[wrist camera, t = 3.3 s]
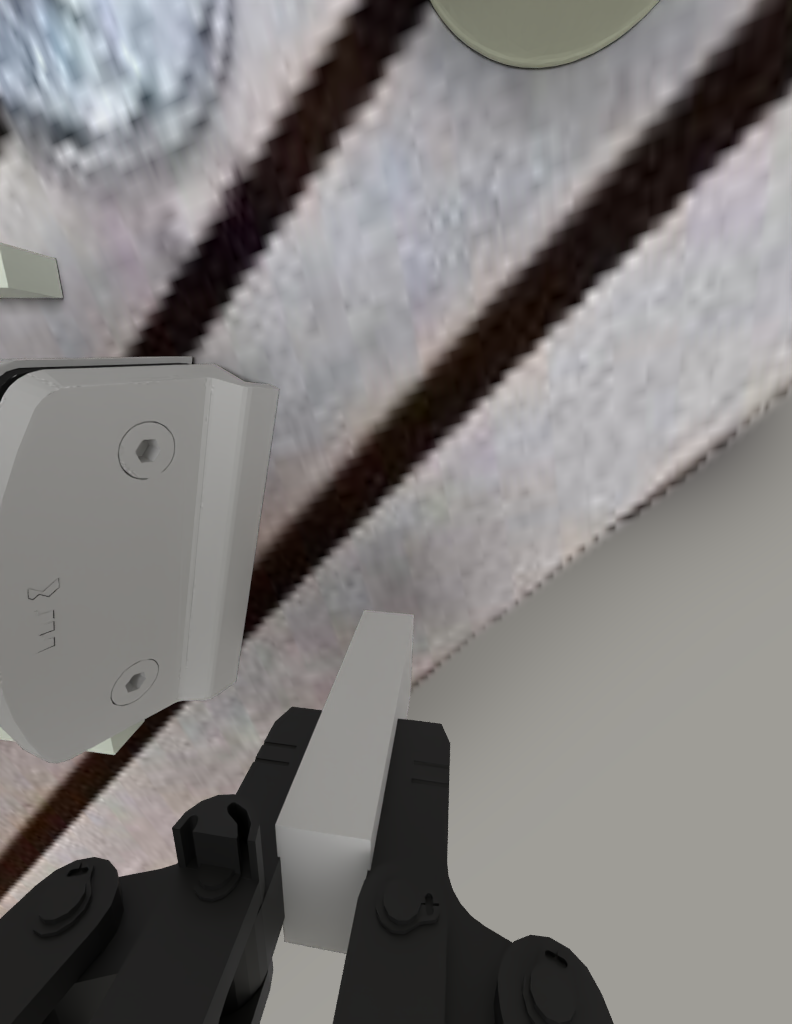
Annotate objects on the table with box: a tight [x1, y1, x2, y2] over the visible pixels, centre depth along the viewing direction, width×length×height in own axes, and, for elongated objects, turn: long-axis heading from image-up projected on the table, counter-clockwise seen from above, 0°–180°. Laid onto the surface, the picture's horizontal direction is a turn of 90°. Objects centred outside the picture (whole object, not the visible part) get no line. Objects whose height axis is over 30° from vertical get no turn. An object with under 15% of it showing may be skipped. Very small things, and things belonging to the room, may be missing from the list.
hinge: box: [0, 357, 279, 763], centre depth 18 cm, size 17×5×10 cm, turn 166°
